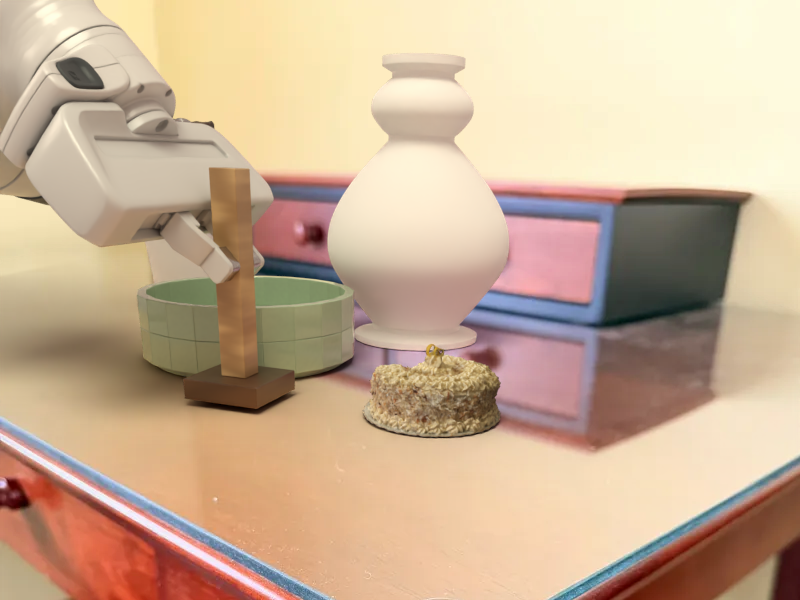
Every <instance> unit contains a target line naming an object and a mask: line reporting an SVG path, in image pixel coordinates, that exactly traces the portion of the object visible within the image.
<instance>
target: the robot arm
mask: <svg viewBox="0 0 800 600" xmlns="http://www.w3.org/2000/svg"><path fill="white" fill-rule="evenodd" d="M176 105H177V101H176V96H175V92H174V90H173V89H172V87H171V86H170V85H169V84H168V82H167V81H166V80H165V78H164V77H163V76H162V74H161V73H160V72H159V71H158V70H157V69H156V67H155V66H154V65H153V63H151V62H150V60H149V59H148V58H147V56H145V54H144V53H143V51H142V50H141V49H140V48H139V47H138V46H137V45H136V43H135V42H134V41H133V40H132V38H131V37H130V36H129V34H128V33H127V32H126V31H125V30H124V28H122V27H121V26H120V25H119V24H118V23H116V22H115V21H113V20H112V19H111V18H109V17H108V16H107V15H105V14H104V13H103V12H102V11H101V10H100V8H99V7H98V6H97V4H96V2H95V0H0V195H4V196H10V197H11V196H12V197H16V198H18V199H21V200H26V201H28V202H29V201H30V202H34V203H37V204H42V205H44V206H49V207H50V208H51V209H52V210H53V211H54V213H55V214H56V215H57V216H58V217H59V218H60V219H61V220H62V221H63V222H64V223H65V224H66V226H67V227H68V228H69V229H70V230H72V232H73V233H75V234H76V235H77V236H78V237H80V238H81V239H83V240H85V241H87V242H88V243H90V244H92V245H94V246H96V247H98V248H107V247H115V246H122V245H130V244H137V243H145V242H146V241H153V240H161V239H165V241H166V242H167V243H168V244H169V245H170V247H171V248H172V249H173V250H175V251H176V252H178V253H179V254H181V255H182V256H184V257H185V258H187V259H188V260H190V261H191V262H193V263H195V264H196V265H198V266H200V267H201V268H202V269H203V270H204V272H205V273H206V274H207V275H208V276H209V277H210V279H211V280H212V281H213V282H214V283H216V284H218V283H223V282H227V281H231V280H232V279H233V277H234V276H235V275H236V274H237V273H238V272H239V270H240V263H239V262H238V261H237V259H236V258H234V257H233V255H232V253H231V252H230V251H229V250H228V248H227V247H219V246H218V245H217V244H216V243H215V242H214V241H212V240H211V239H210V238H209V237H208V236H207V235H206V234H207V233H210V234H211V235H212V236H213V228H212V212H211V196H210V180H209V167H230V168H249V169H250V190H251V213H252V227H254V225H255V224H256V223H257V222H258V221H259V220H260V219H261V218H262V217H263V215H264V214H265V213H266V212H267V211H268V209H269V208H270V207H271V206H272V204H273V203H274V200H275V199H274V194H273V192H272V189H271V187H270V185H269V183H268V182H267V181H266V180H265V179H264V177H263V176H262V175H261V174H260V173H259V172H258V170H256V169H255V167H254V166H253V165H252V164H251V163H250V162H249V161H248V160H247V159H246V157H245V156H244V155H242V153H241V152H240V151H239V150H238V149H237V148H236V147H235V146H234V145H233V143H232V142H230V141H229V140H228V139H227V138H226V137H225V135H223V134H222V133H220V132H219V131H218V130H217V129H216V128H215V127H214V128H212V127H210V126H208V125H205V124H200V123H192V122H193V121H191V120H190V119H188V118H185V117H177V118H174V115H175V111H176V108H177V107H176ZM253 260H254V276H257V274H258V272H260V270H261V269H263V267H264V266H265V258H264V256H263V255H262V254H261V253H260V252H259V250H258V249H257V247H255V245H254V244H253Z"/></svg>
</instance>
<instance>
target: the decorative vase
mask: <svg viewBox="0 0 800 600" xmlns="http://www.w3.org/2000/svg"><path fill="white" fill-rule="evenodd" d="M381 59H382V63H381V64H382V67H383V68H384V69H386V70H388V71H390V73H391V78H390V79H389V80H387V82H385V83H384V84H383V85H382V86H381V87H379V89H378V90H377V91H376V92H375V93H374V95H373V98H372V100H371V105H370V112H371V115H372V118H373V119H374V121H375V123H377V125H378V126H379V128H381V130H382V131H383V132H384V133H385V134H386V135H388V140H387V141H386V142H385V144H384V145H382V147H381V148H380V149H379V150H378V151H377V152H376V153H375V154H374V155H373V156H372V158H370V159H369V161H367V163H366V164H365V165H364V166H363V168H362V169H360V170H359V172H358V173H357V174H356V176H355V177H353V180H352V181H351V182H350V184H349V185H348V187H346V189H345V191H344V193H343V194H342V196H341V197H340V199H339V200H338V203H337V204H336V207H335V208H334V211H333V213H332V216H331V218H330V222H329V224H328V225H329V226H328V231H327V255H328V258H329V261H330V264H331V266H332V268H333V270H334V272H335V274H336V275H337V277H338V278H339V280H340V281H341V284H342V285H345V286H348V287H350V288H351V289H353V290H354V301H355V302H356V303H357V305H358V306H359V308H361V310H362V312H364V314H365V315H366V316H367V317H368V319H369V320H370V321H371V322H369V323H365V324H362V325H359V326H357V327H356V328H354V340H355V341H358V342H360V343H361V344H364V345H367V346H372V347H377V348H383V349H387V350H388V349H389V350H399V351H411V352H412V351H413V352H415V351H416V352H417V351H418V352H426V348H427V346H428V345H430V344H434V345H435V346H436V347H438V348H441V349H444V351H447V350H449V351H450V350H456V349H461V348H465V347H469V346H472V345H474V344H475V343H476V342H477V337H478V335H477V331H475V330H474V329H471V328H470V327H467V326H463V325H460V324H461V323H462V322H464V320H465V319H466V318H467V317H468V316H469V315H470V314H471V312H472V311H474V309H475V308H476V307H477V305H479V303H480V302H481V301H482V300H483V298H484V297H485V296H486V295H487V294H488V292H489V291H490V290H492V287H493V286H494V285H495V284H496V282H497V281H498V279H499V278H500V276H501V275H502V273H503V271H504V269H505V268H506V265H507V262H508V259H509V252H510V234H509V227H508V223H507V220H506V216H505V214H504V212H503V209H502V207H501V205H500V203H499V200H498V199H497V198H496V196H495V194H494V192H493V190H492V189H491V187H490V186H489V184H488V183H487V182H486V180H485V179H484V177H483V175H482V174H481V173H480V172H479V170H478V169H477V167H475V166H474V164H473V163H472V162H471V160H470V159H469V158H468V157H467V156H466V153H464V152H463V151H462V149H461V148H460V147H459V146H458V145H457V144H456V142H455V137H456V136H458V135H460V134H461V132H463V130H464V129H465V128H466V127H467V126H468V125H469V124H470V122H471V121H472V119H473V117H474V111H475V109H474V108H475V106H474V102H473V99H472V97H471V95H470V93H468V91H467V90H466V89H465V88H464V87H463V85H461V84H460V83H459V82H458V81H457V80H456V79H455V75H456V74H457V73H459V72H461V71H463V70H465V68H466V57H464V56H462V55H455V54H446V53H433V52H399V53H398V52H397V53H387V54H384V55H382V58H381ZM433 350H434V346H432V347H431V349H430V351H429V352H432V351H433Z"/></svg>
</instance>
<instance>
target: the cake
mask: <svg viewBox="0 0 800 600" xmlns="http://www.w3.org/2000/svg"><path fill="white" fill-rule="evenodd" d="M432 346H434V350H433V351H430V349H431V347H432ZM425 354H426V355H425V357H424V361H422V362H418V363H417V364H416V365H414V366H412V367H410V366H408V365H406V366H403V365H402V363H398V364H397V363H391V364H379V365H378V366H376V367H375V368H374V371H373V372H372V376H371V379H369V382H370V389H369V392H370V394H371V397H372V398H371V399H369V401H368V402H367V403H366V404H365V405H364V406H363V409H362V412H363V416H364V417H365V418H366V420H367V421H369V422H370V423H371V424H372V425H375V426H376V427H378V428H381V429H385V430H386V431H390V432H394V433H397V434H404V435H409V436H419V437H421V438H422V437H423V438H428V437H431V438H432V437H434V438H443V437H445V438H448V437H449V438H451V437H452V438H455V437H463V436H471V435H476V434H477V433H484V432H485V431H488V430H490V429H491V428H492V427H496V425H497V424H498V423H500V419H501V414H502V412H500V409H499V407H498V405H497V398H496V397H497V396H498V392H499V389H500V388H501V384H502V381H500V376H498V375H497V374H496V373H495V371H493V370H492V369H491V368H490V366H489V365H486V364H484V363H481V362H477V361H475V360H470V359H468V360H467V359H465V357H461V356H454V355H449V354H445V350H444V349H441V348H438V347H436V346H435V345H434V344H430V345H428V346H427V348H426V351H425Z"/></svg>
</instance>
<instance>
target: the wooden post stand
mask: <svg viewBox="0 0 800 600" xmlns="http://www.w3.org/2000/svg"><path fill="white" fill-rule="evenodd" d="M209 180H210V196H211V212H212V228H213V241H214V242H215V243H216V244H217V245H218V246H219V247H227V248H228V250H229V251H230V252H231V253H232V255H233V257H234V258H236V259H237V261H238V262H239V263H240V270H239V272H238V273H237V274H236V275H235V276H234V277H233V279H232V280H231V281H227V282H223V283H218V284H216V292H217V308H218V324H219V340H220V356H221V364H219V365H217V366H214V367H212V368H209V369H207V370H204V371H202V372H199V373H196V374H194V375H191V376H189V377H184V378H182V382H183V383H182V384H183V395H184V396H183V397H184V399H185V400H191V401H192V400H193V401H198V402H199V401H200V402H205V403H213V404H221V405H226V406H234V407H241V408H248V409H255V410H258V409H259V408H261V407H263V406H266V405H267V404H269V403H271V402H273V401H275V400H277V399H279V398H281V397H282V396H284V395H286V394H289V393H290V392H292V391H294V390H295V389H296V382H295V381H296V378H295V373H294V370H288V369H280V368H272V367H264V366H258V353H257V330H256V306H255V283H254V276H255V275H254V260H253V245H254V242H253V241H254V239H253V238H254V237H253V226H252V213H251V190H250V169H249V168H230V167H209Z"/></svg>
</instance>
